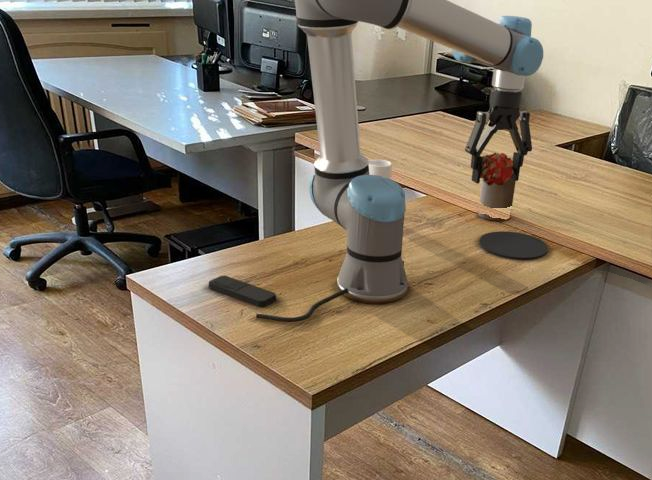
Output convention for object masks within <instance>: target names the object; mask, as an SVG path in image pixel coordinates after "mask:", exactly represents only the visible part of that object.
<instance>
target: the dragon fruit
mask: <svg viewBox="0 0 652 480" xmlns="http://www.w3.org/2000/svg"><path fill="white" fill-rule="evenodd" d="M481 157H483V159H482V167H481V175H480V179H482V178H483V181H484V182H485V183H486V184H488V185H489V186H491V185H492V184H493V183H495V184H497V185H502V186H503V185H504V184H506V181H507V180H508V179H509V178H510V177H511V175H512V174H513V173H514V171H513V169H512V166H513V161H512V160H513V159H512V158H511V157H508V155H507V154H506V153H505V152H501V153H498V152H494V153H490V154H486V155H481Z"/></svg>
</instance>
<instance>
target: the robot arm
mask: <svg viewBox="0 0 652 480" xmlns="http://www.w3.org/2000/svg"><path fill="white" fill-rule="evenodd" d="M290 1H291V3H293V4H294V7H295V15H296V21H297V27H298V28H299V29H300V30H301V31H303V33H305V35H306V39H307V47H308V57H309V68H310V75H311V85H312V92H313V102H314V111H315V121H316V128H317V137H318V138H317V139H318V148H319V156H318V158H316V160H315V161H314V163H313V167H314V171H313V174H312V176H310V180H309V186H308V191H309V192H308V193H309V197H310V200H311V202H312V203H313V206H315V208H316V209H317V210H318V211H319V212H320V213H321V214H322V215H323V216H325V217H326V218H327V219H329V220H331V221H332V222H334V223H335V224H337V225H339V226H340V227H341V228H342V229H344V230H346V255H345V257H344V260H343V262H342V265H341V268H340V271H339V273H338V276H337V280H336V281H337V285H336V287H337V288H336V289H337V290H338V291H337V292H335V293H333V294H330V295H329V296H326V297H324V298H322V299H320V300H319V301H317V302H315V303H313V304H312V305H311V307H310V308H309V309H308V311H307V312H306V313H305V314H303V315H300V316H294V317H293V316H292V317H291V316H290V317H289V316H287V317H286V316H278V315H271V314H264V313H256V314H255V318H256V319H260V320H261V319H262V320H268V321H273V322H279V323H280V322H282V323H297V322H302V321H305V320H308V319H309V318H310V317H311V316H313V313H314V312H315V310H317V309H318V308H319V307H321V306H322V305H325V304H326V303H329V302H331V301H333V300H336V299H337V298H339V297H342V296H344V297H345V298H347V299H349V300H352V301H355V302H359V303H364V304H388V303H393V302H396V301H398V300H401V299H402V298H404V297H405V296H406V295H407V293H408V288H409V287H408V286H409V282H408V281H409V280H408V276H407V274H406V269H405V260H403V258H402V251H403V241H404V240H403V238H404V225H405V215H406V214H405V213H406V210H407V206H406V205H407V204H406V193H405V191H404V188H403V187H402V186H401V185H400V183H398V182H397V181H396V180H393V179H392V178H391V179H389V178H382V176H377V175H369V163H368V161H369V159H368V157H366V156H365V155H364V154H363V153H362V152H361V140H360V127H359V116H358V115H359V113H358V103H357V102H358V101H357V87H356V74H355V63H354V51H353V37H352V36H353V35H352V34H353V33H352V32H353V31H354V30H355V29H356V27H357V26H358V24H359V22H361V23H366V24H369V25H374V26H377V27H380V28H382V29H385V30H393V29H395V28H399V29H402V30H403V31H405V32H409V33H411V34H414V35H416V36H419V37H421V38H424V39H426V40H429V41H432V42H434V43H435V44H439V45H441V46H444V47H447V48H448V49H451V53H452V56H453V58H454V59H455V60H456V61H457V62H459V63H465V64H466V63H467V64H472V63H473V64H480V65H483V66H487V67H490V68H493V72H492V80H491V86H492V88H491V89H490V93H489V95H490V96H489V109H488V111H481V110H478V111H476V120H475V123H474V125H473V127H472V130H471V133H470V135H469V138H468V141H467V143H466V145H465V148H464V151H465V152H466V153H467V154H469V155H471V158H470V169H472V173H471V181H472V182H473V183H475V184H477V185H479V184H481V183H480V182H481V178H480V175H481V167H482V159H483V157H482V153H483V151H484V150H485V148H486V147H487V146H488V144H489V142H490V141H491V139H492V138H493V136H494V135H495V134H496V133H497V132H498V131H503V130H506V131H508V132H509V135H510V137H511V140H512V142H513V145H514V147H515V150H516V151H514V152H513V153H512V159H511V160H512V161H513V166H512V169H513V171H514V173H513V174H512V175H511V177H510V178H511V179H513V180H515V181H516V182H518V181H519V180H520V179H519V177H520V171H521V167H523V165H524V159H525V156H527V155H528V152H532V151H533V145H532V135H531V128H530V117H531V113H530V112H529V111H526V110H524V109H522V110H520V108H521V107H522V101H523V91H522V90H523V89H524V87H525V81H526V77H530V76H532V75H534V74H535V73H537V71H538V70H539V69H540V68H541V65H542V63H543V60H544V47H543V45H542V43H541V41H540V39H538V38H535V37H532V30H533V29H532V28H533V27H532V26H533V24H532V23H533V22H532V21H531V19H529V18H527V17H523V16H516V15H502V16H500V17H499V21H498V23H497V22H495V21H493V20H490V19H489V18H486V17H484V16H482V15H480V14H478V13H476V12H473V11H471V10H470V9H467V8H465V7H462V6H460V5H458V4H456V3H455V2H451V1H449V0H290ZM488 120H489V121H488ZM518 120H519V127H518V124H517V121H518ZM486 123H487V124H486ZM519 129H520V132H519Z"/></svg>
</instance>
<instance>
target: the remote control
mask: <svg viewBox="0 0 652 480" xmlns="http://www.w3.org/2000/svg"><path fill="white" fill-rule="evenodd" d="M208 289H210V290H213V291H216V292H218V293H220V294H224V295H226V296H229V297H231V298H235V299H238V300H240V301H243V302H246V303H248V304H252V305H254V306H257V307H260V308H264V307H267V306H269V305H271V304H272V303H275V302H276V301H277V300H278V299H277V295H276V293H275V292H273V291H271V290H269V289H265V288H262V287H259V286H256V285H253V284H252V283H248V282H245V281H243V280H240V279H236V278H234V277H231V276H228V275H225V274H224V275H220V276H218V277H216V278H212V279H210V280H209V281H208Z"/></svg>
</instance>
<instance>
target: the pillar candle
mask: <svg viewBox="0 0 652 480" xmlns="http://www.w3.org/2000/svg"><path fill="white" fill-rule="evenodd" d="M480 182H481V183H480V190H479V191H480V192H479V200H480V202H481V203H482V204H483V205H484V206H487V207H490V208H507V207H510V206H512V207H513V203H514V196H515V195H514V194H515V188H516V183H517V181H515V180H513V179H511V178H509V179H508V180H507V181H506V184H504V185H503V186H502V185H497V184H495V183H493V184H492V185H491V186H489V185H488V184H486V183H485V182H484V181H483V178H481V181H480ZM479 200H478V201H479ZM477 214H478V215H477V216H478V217H480V218H481V219H484V220H487V221H488V220H489V221H493V222H504V221H505V222H506V221H507V220H504V219H501V218H492V217H490V216H489V215H487V214H480V213H479V212H478V211H477Z"/></svg>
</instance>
